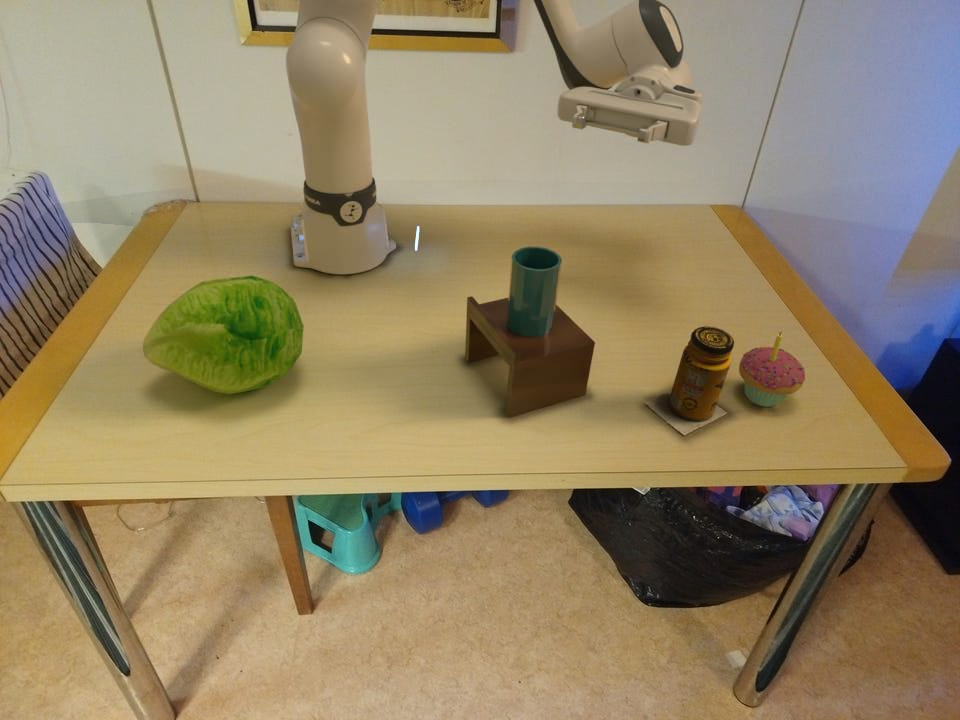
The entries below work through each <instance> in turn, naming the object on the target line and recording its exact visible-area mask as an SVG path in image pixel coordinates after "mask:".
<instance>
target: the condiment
mask: <svg viewBox="0 0 960 720" xmlns="http://www.w3.org/2000/svg"><path fill="white" fill-rule="evenodd" d="M734 345H735V340H734V338H733V337H732V336H731V335H730V333H728V332H727V331H726V330H724V329H721V328H719V327H716V326H707V325H705V326H699V327H697V328H695V329H694V330H693V331H692V332H691V335H690V340H689V341H688V342H687V345H686V346H684V349H683V351H682V354H681V357H680V361H679V365H678V367H677V371H676V374H675V378H674V381H673V385H672V388H671V390H670V391H668V392H665V393H662V394H660V395H658V396H657V397H654V398H652V399H649V400H647V401H645V402H644V404H645V405H647V406H648V407H649V409H651V410H652V411H653V412H654V413H656V414H657V415H658V416H659V417H660V418H661V419H663V420H664V421H665V422H666V423H667V424H668V425H670V426H671V427H673V428H674V429H675V430H676V431H678V432H679V433H680V434H682V435H683V436H687V435H688V434H690V433H692V432H694V431H696V430H698V429H700V428H701V427H703V426H705V425H708V424H710V423H713V422H714V421H716V420H718V419H720V418H722V417H723V416H725V415H727V414H728V412H727V411H726V410H724V409H723V408H721V407H720V406H719V405H717V404H718V401H719V399H720V396H721V393H722V390H723V388H724V384H725V381H726V379H727V376H728V373H729V370H730V367H731V364H732V357H731V356H732V353H733V349H734V347H735V346H734Z"/></svg>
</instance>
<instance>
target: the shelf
mask: <svg viewBox="0 0 960 720" xmlns="http://www.w3.org/2000/svg"><path fill="white" fill-rule="evenodd" d="M507 308H508V297H504V298H500V299H496V300H493V301H492V300H491V301H486V302H482V303H479V301H477V300H476V299H475V297H474V296H471V295H470V296H467V297H466V321H465V322H466V323H465V345H464V346H465V347H464V348H465V349H464V359H465V360H466V362H467V363H472V362H476V361H480V360H483V359H487V358H492V357H496V356H500V357H501V358H502V360H504V362H505V363H506V364H507V365H508V367H509V368H508V377H507V378H508V379H507V387H506V390H507V391H506V398H505V399H506V400H505V414H506V415H507V417H508V418H514V417H516V416H520V415H523V414H526V413H529V412H533V411H536V410H540V409H542V408H546V407H550V406H553V405H555V404H559V403H563V402H565V401H569V400H572V399H575V398H579V397H581V396H586V393H587V389H588V384H589V383H588V382H589V377H590V373H591V366H592V361H593V357H594V356H593V355H594V350H595V345H596V342H595V340H594V339H592V338H591V337H590V336H589V335H588V334H587V333H586V332H585V331H584V329H582V328H581V327H580V326H579V325H578V324H577V322H575V321H574V320H573V319H572V318H571V317H570V316H569V315H568V314H567V313H566V312H564V310H563V309H562V308H560V306H559V305H558V304H556V308H555V316H554V323H553V327H552V330H551V331H550V332H549V333H548V334H546V335H544V336H540V337H525V336H521V335H518V334H516V333H514V332H512V331H511V330H510V329H509V328H508V326H507Z"/></svg>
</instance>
